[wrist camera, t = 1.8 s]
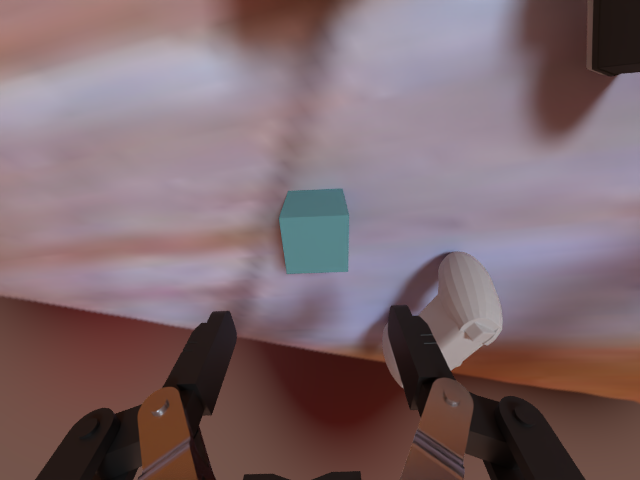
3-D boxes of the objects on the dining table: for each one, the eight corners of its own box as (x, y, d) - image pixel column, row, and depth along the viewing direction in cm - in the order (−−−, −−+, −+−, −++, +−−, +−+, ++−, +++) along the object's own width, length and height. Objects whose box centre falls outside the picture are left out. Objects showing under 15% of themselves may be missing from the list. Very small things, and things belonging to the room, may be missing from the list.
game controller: (395, 332, 32) (422, 417, 24) (366, 322, 31) (384, 407, 23) (473, 248, 26) (550, 324, 17) (440, 233, 25) (503, 304, 16)
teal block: (342, 188, 23) (349, 215, 17) (342, 235, 25) (348, 271, 20) (288, 190, 23) (278, 218, 17) (293, 237, 25) (286, 273, 20)
